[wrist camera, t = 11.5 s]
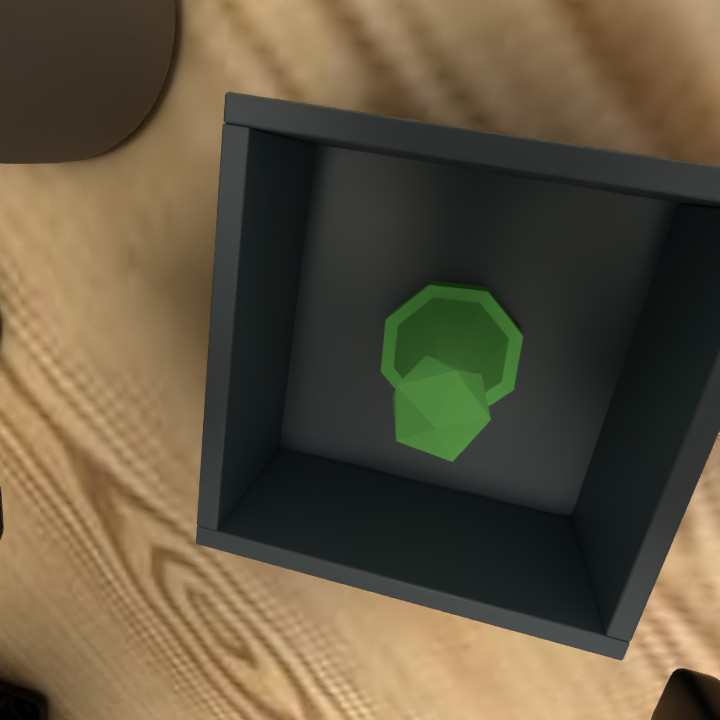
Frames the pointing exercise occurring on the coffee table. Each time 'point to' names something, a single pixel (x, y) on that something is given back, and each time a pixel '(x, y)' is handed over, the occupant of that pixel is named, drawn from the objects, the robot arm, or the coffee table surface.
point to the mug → (78, 74)
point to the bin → (508, 415)
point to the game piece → (448, 364)
